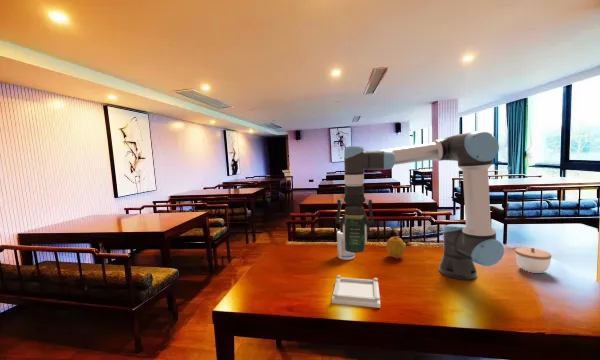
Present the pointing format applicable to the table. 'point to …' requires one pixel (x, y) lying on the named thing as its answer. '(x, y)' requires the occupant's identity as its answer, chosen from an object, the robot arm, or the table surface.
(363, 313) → the table surface
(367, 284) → the white square tray
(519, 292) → the table surface
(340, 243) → the supplement tub
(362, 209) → the coffee jar
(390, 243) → the apple
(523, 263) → the lidded bowl
